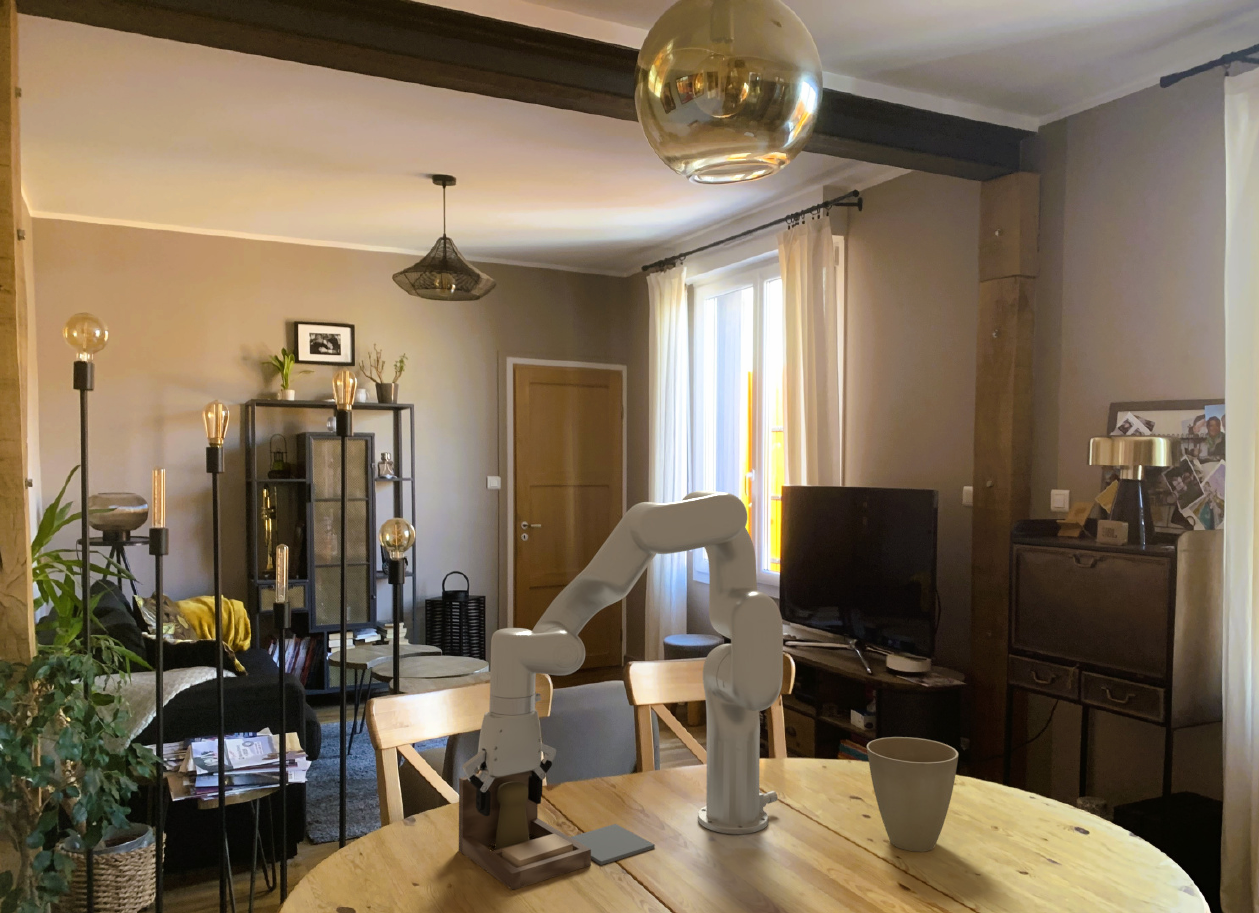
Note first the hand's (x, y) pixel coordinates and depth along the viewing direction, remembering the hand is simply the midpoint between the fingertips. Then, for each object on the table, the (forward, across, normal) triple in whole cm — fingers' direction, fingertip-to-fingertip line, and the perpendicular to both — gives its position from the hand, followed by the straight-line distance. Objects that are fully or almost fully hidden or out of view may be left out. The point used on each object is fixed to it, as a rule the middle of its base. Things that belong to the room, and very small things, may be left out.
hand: (509, 807), depth 151 cm
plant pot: (+6, -57, +38) cm, 69 cm away
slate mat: (+7, -15, +8) cm, 18 cm away
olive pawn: (+7, -1, 0) cm, 7 cm away
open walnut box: (+7, -1, +4) cm, 8 cm away
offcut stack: (+7, -1, +8) cm, 11 cm away
